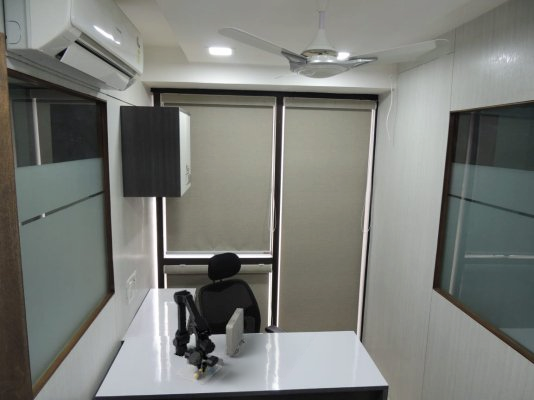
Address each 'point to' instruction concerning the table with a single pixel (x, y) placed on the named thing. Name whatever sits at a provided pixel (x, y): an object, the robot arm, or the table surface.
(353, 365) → the table surface
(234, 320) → the network device
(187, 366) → the pipe mounting panel
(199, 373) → the yellow capsule with collar
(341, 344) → the table surface
